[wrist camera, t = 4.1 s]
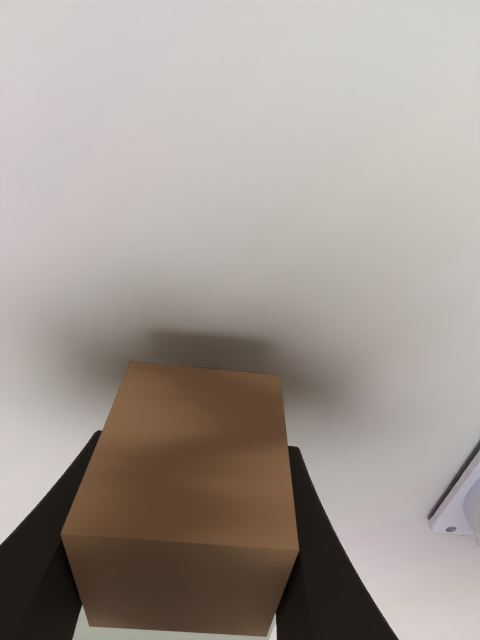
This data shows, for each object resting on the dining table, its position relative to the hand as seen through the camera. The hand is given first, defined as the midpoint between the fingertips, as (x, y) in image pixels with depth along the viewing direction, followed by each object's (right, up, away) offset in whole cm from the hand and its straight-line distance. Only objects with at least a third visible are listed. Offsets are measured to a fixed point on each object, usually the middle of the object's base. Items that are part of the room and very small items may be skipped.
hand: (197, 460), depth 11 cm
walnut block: (0, +1, +1) cm, 2 cm away
